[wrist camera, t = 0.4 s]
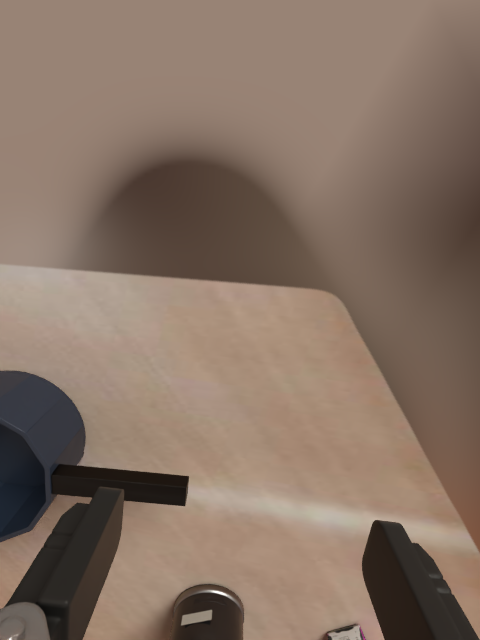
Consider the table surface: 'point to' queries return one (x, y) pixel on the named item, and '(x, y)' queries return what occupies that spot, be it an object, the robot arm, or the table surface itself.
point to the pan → (57, 457)
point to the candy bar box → (347, 633)
